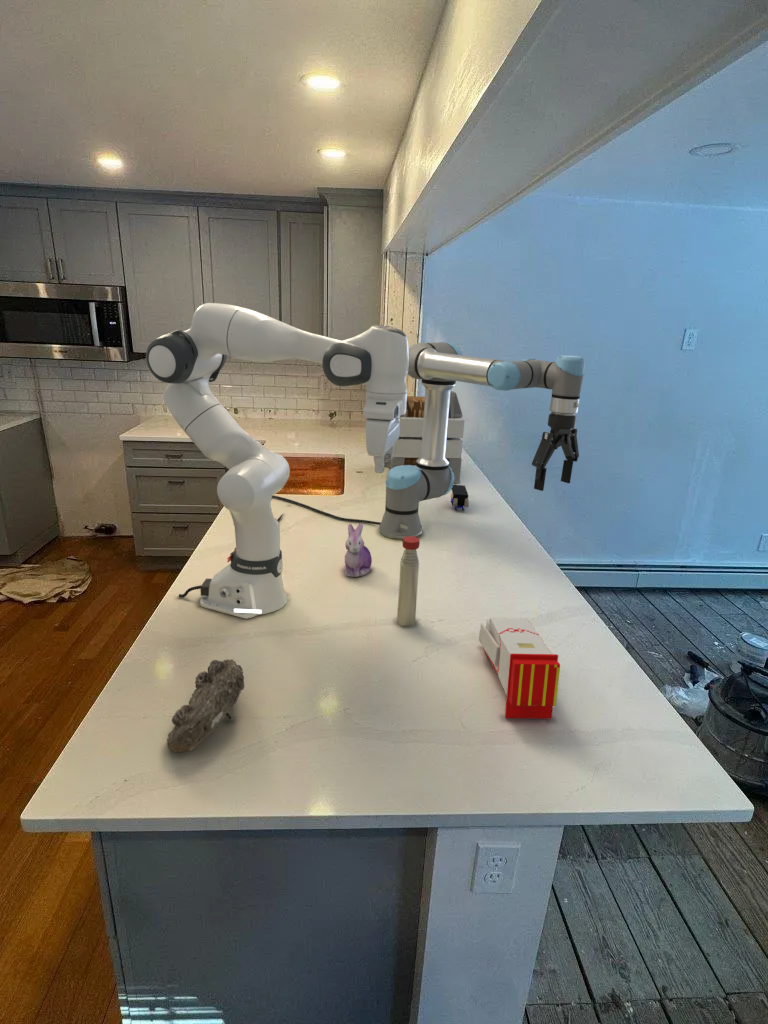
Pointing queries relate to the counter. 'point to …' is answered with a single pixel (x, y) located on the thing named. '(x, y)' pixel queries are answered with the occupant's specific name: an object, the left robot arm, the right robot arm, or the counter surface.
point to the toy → (522, 666)
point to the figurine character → (459, 497)
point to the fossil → (206, 705)
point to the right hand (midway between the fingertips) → (552, 485)
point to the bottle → (408, 588)
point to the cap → (411, 543)
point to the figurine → (356, 553)
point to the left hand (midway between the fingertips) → (383, 466)
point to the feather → (279, 518)
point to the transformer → (412, 430)
